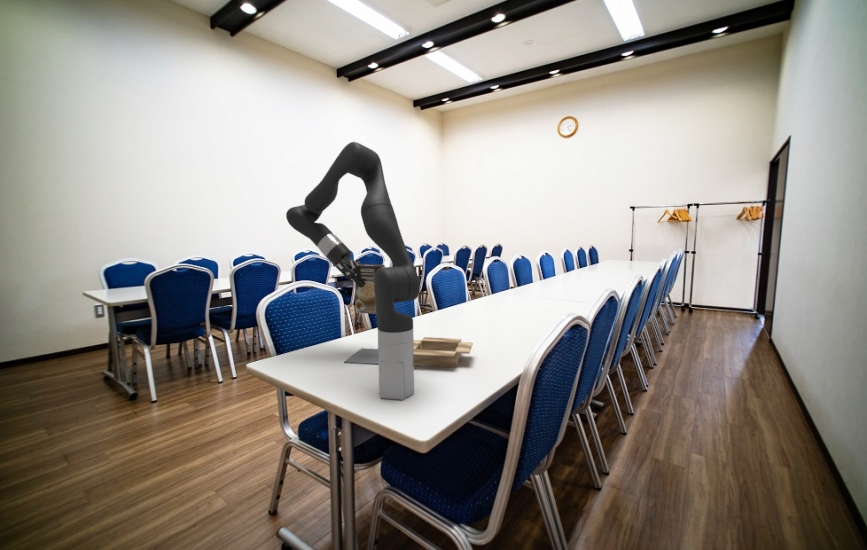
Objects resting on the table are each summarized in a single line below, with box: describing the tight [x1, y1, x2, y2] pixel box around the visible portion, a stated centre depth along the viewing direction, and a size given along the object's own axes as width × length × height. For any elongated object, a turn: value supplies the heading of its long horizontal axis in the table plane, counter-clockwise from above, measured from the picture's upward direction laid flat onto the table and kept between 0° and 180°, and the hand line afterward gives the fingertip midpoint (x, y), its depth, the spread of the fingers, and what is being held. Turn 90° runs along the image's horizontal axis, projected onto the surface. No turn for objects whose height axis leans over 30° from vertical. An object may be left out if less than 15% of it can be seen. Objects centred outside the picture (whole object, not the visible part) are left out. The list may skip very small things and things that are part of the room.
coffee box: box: [354, 263, 386, 315], centre depth 125 cm, size 9×6×16 cm
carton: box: [413, 336, 474, 368], centre depth 123 cm, size 19×22×5 cm
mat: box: [343, 348, 379, 366], centre depth 127 cm, size 15×14×1 cm
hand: (367, 284), depth 125 cm, fingers closed on coffee box, 6 cm apart
